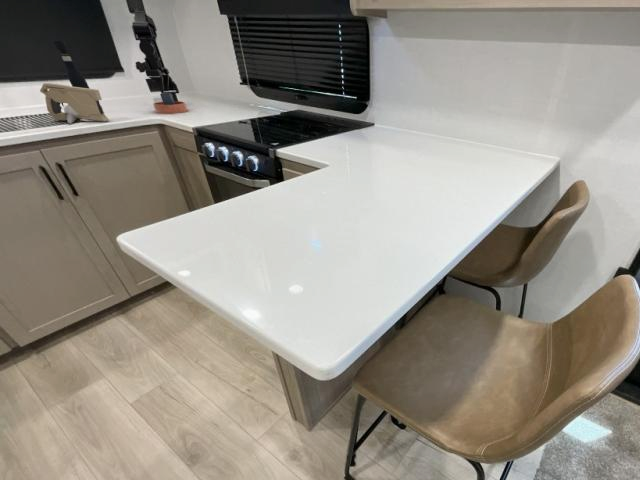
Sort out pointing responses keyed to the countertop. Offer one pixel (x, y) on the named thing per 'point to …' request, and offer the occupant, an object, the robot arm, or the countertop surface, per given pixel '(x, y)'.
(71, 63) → the wine bottle
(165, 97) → the block
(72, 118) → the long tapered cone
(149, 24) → the robot arm
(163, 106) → the bowl
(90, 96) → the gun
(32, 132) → the countertop surface
